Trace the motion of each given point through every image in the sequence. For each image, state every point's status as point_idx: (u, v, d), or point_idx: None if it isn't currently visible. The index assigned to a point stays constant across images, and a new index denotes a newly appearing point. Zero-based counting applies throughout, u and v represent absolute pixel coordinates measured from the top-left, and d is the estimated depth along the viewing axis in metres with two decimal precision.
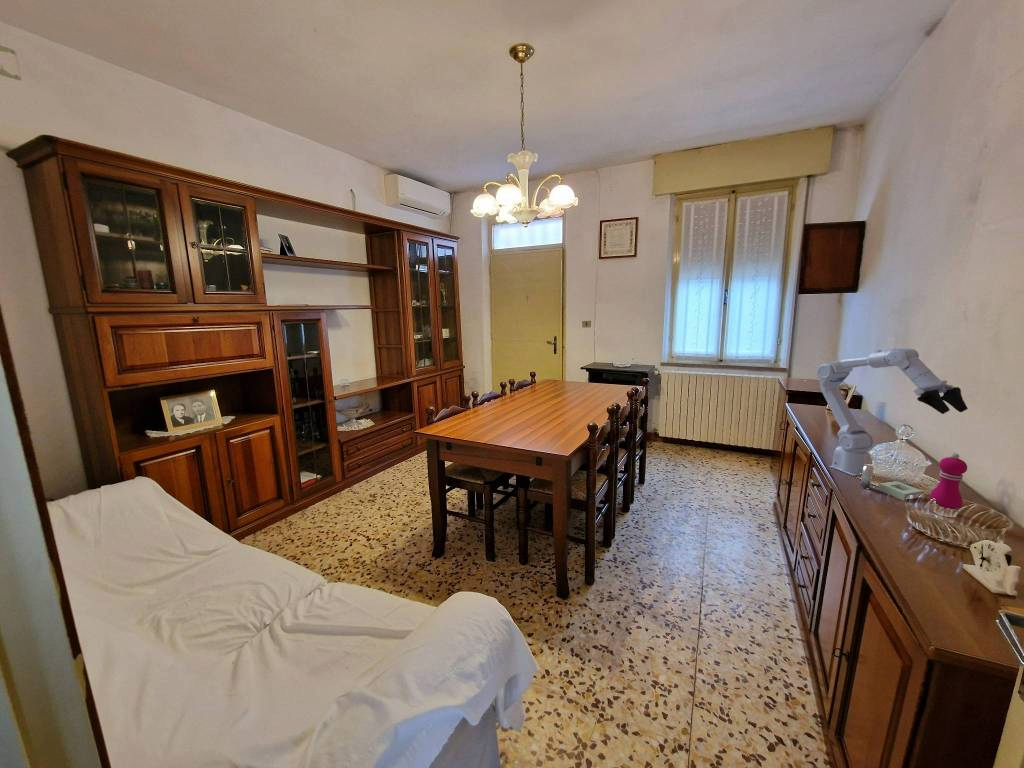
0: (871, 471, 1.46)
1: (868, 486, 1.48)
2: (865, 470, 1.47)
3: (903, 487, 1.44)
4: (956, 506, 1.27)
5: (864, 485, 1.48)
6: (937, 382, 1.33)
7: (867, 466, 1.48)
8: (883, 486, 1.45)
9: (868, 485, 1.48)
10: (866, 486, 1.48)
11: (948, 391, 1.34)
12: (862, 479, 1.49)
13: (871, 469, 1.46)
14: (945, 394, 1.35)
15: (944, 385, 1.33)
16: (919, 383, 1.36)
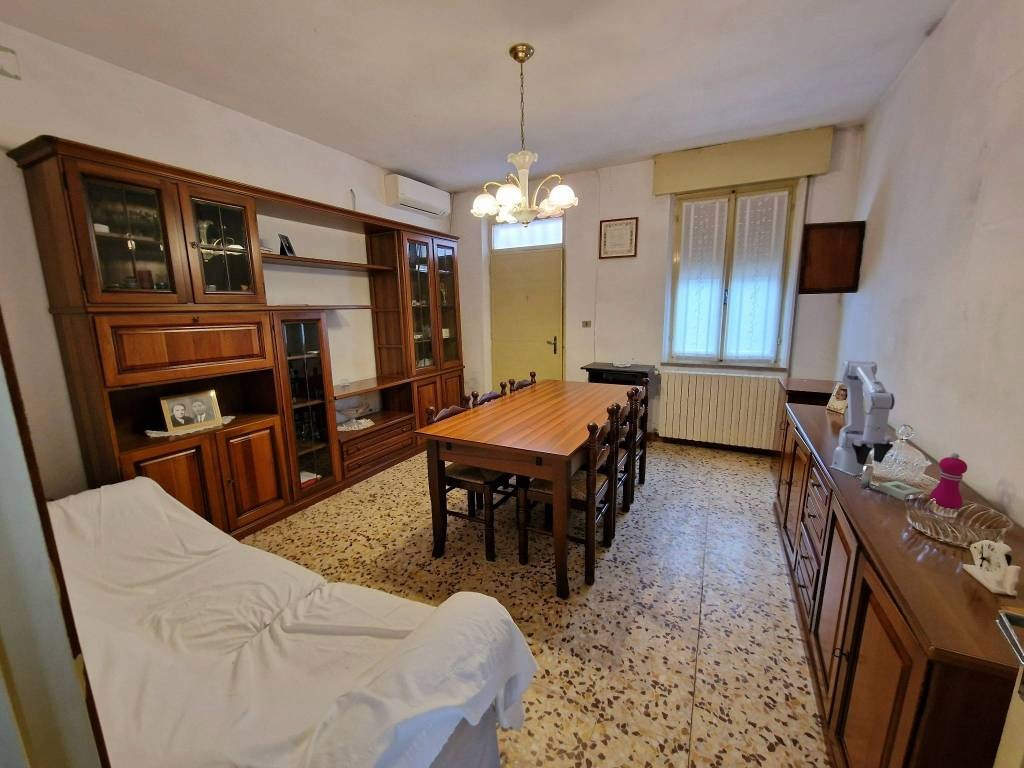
0: (871, 471, 1.46)
1: (868, 486, 1.48)
2: (865, 470, 1.47)
3: (903, 487, 1.44)
4: (956, 506, 1.27)
5: (864, 485, 1.48)
6: (879, 440, 1.42)
7: (867, 466, 1.48)
8: (883, 486, 1.45)
9: (868, 485, 1.48)
10: (866, 486, 1.48)
11: (882, 443, 1.46)
12: (862, 479, 1.49)
13: (871, 469, 1.46)
14: (878, 443, 1.47)
15: None
16: (867, 432, 1.45)
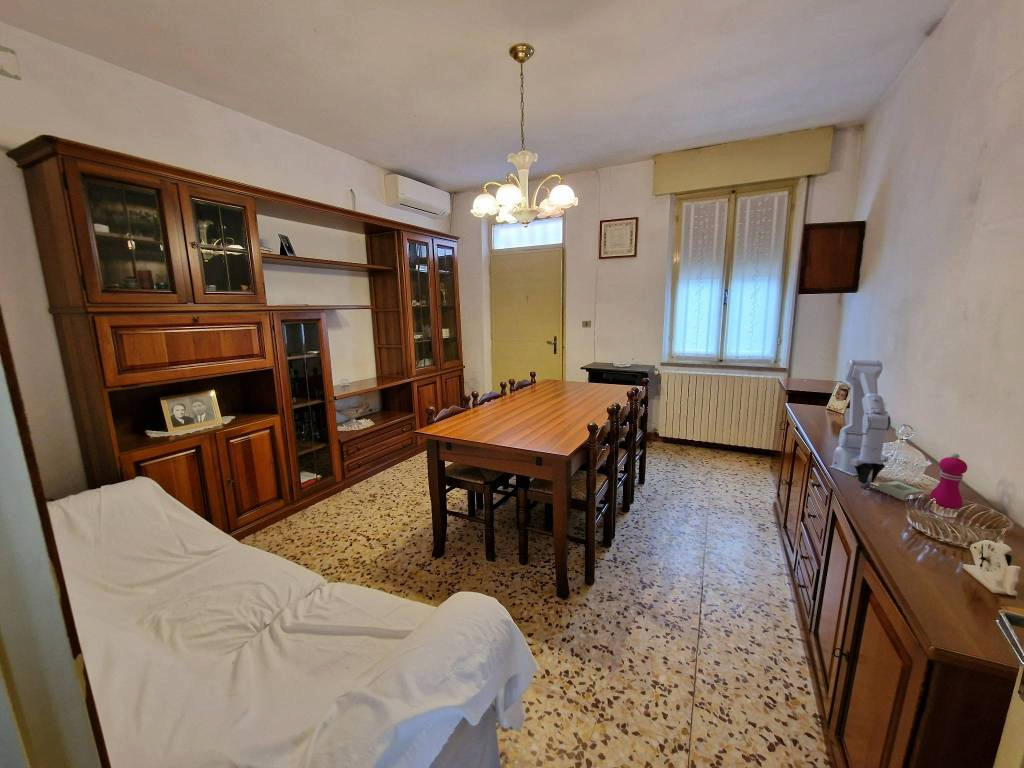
0: (871, 471, 1.46)
1: (868, 486, 1.48)
2: None
3: (903, 487, 1.44)
4: (956, 506, 1.27)
5: (864, 485, 1.48)
6: (875, 460, 1.44)
7: None
8: (883, 486, 1.45)
9: (868, 485, 1.48)
10: (866, 486, 1.48)
11: (874, 464, 1.47)
12: None
13: None
14: (870, 463, 1.48)
15: None
16: (863, 452, 1.46)
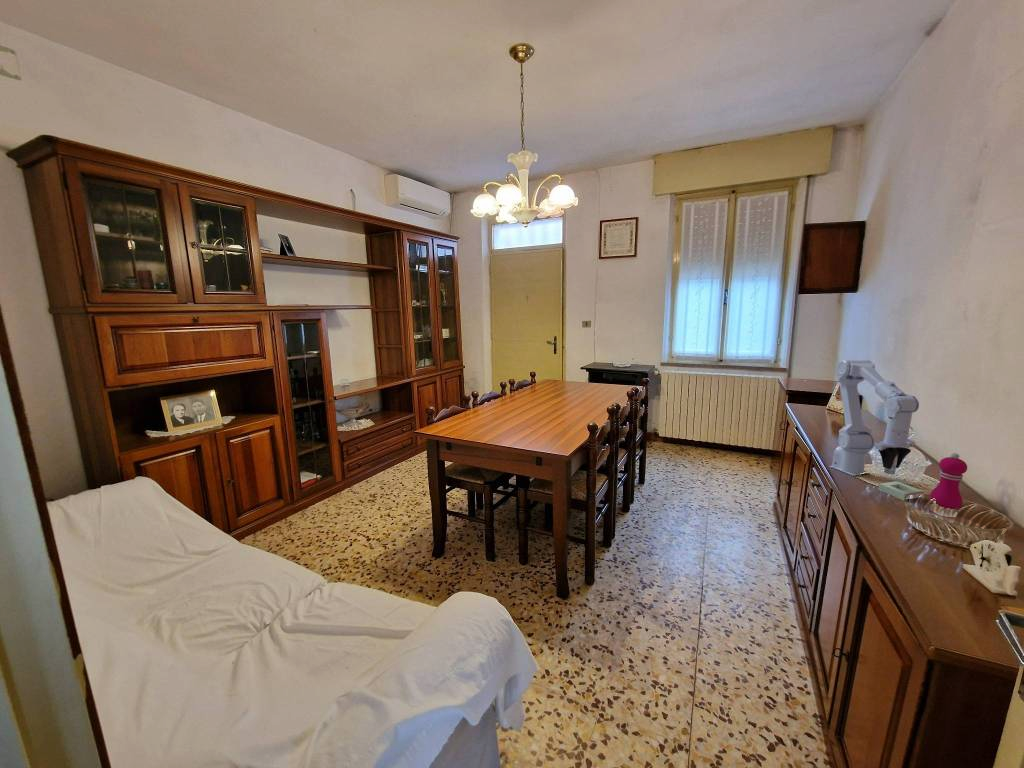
0: (896, 456, 1.42)
1: (893, 471, 1.43)
2: None
3: (903, 487, 1.44)
4: (956, 506, 1.27)
5: (889, 470, 1.43)
6: (901, 444, 1.39)
7: None
8: (883, 486, 1.45)
9: (893, 470, 1.43)
10: (891, 471, 1.43)
11: (899, 448, 1.42)
12: None
13: None
14: (895, 448, 1.43)
15: None
16: (888, 436, 1.41)
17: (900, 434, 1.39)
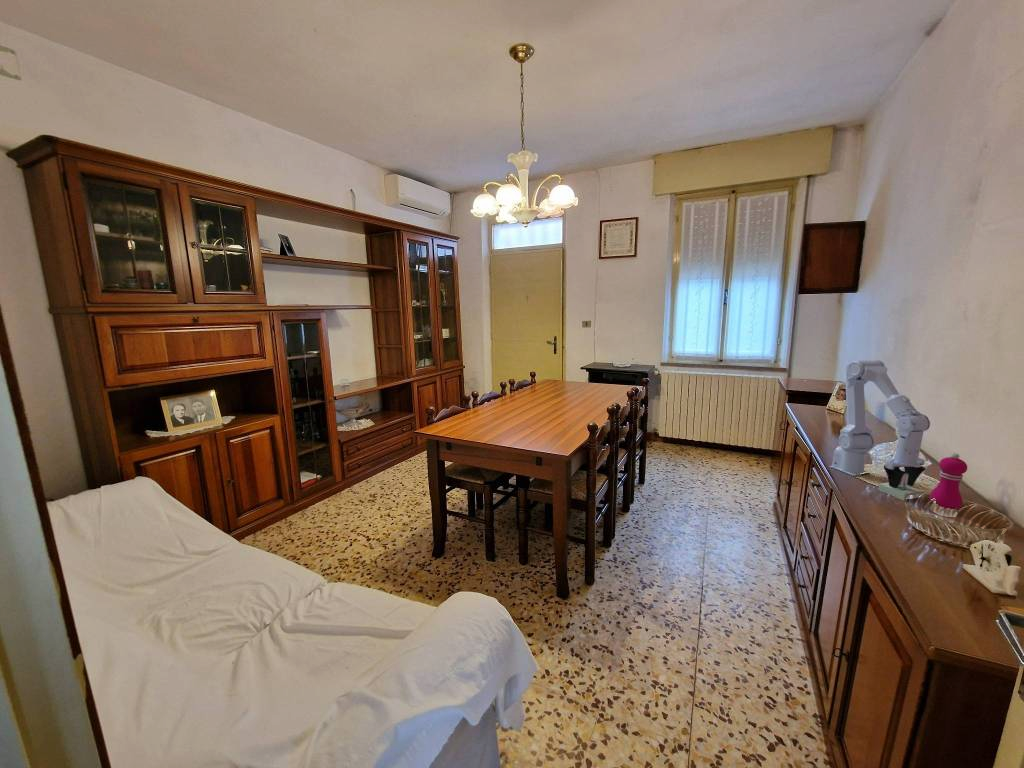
0: (906, 477, 1.41)
1: None
2: None
3: None
4: (956, 506, 1.27)
5: None
6: (912, 463, 1.38)
7: None
8: (883, 486, 1.45)
9: None
10: None
11: (914, 466, 1.42)
12: None
13: (907, 475, 1.41)
14: None
15: None
16: (899, 454, 1.41)
17: (911, 453, 1.38)
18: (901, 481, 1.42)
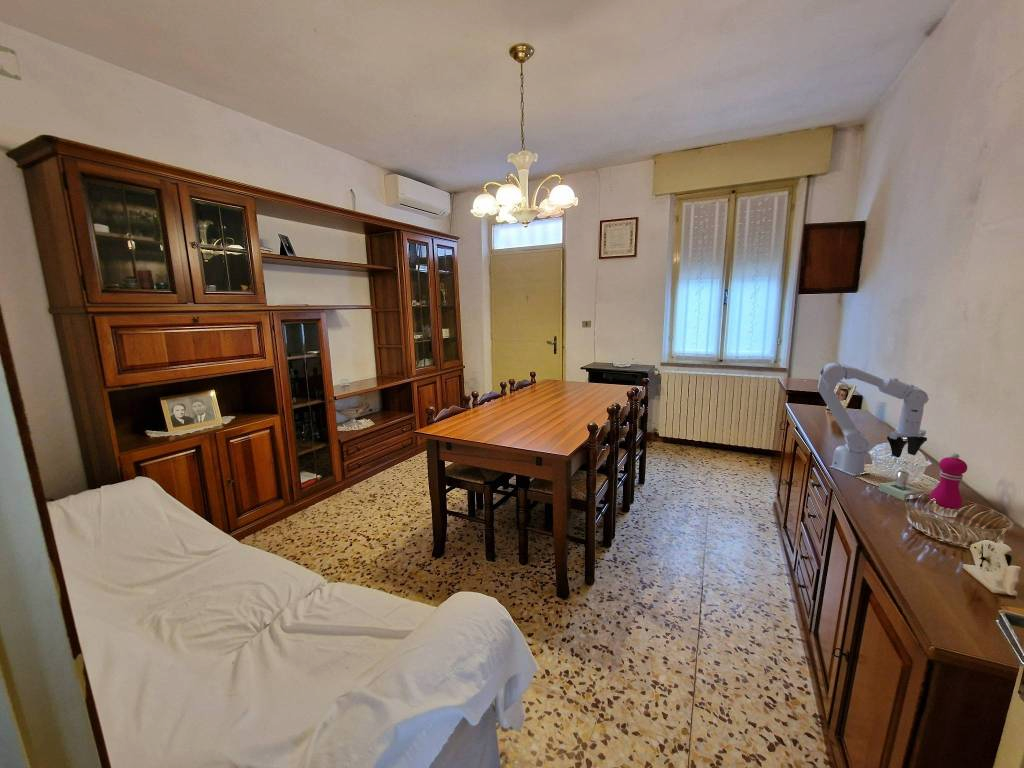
0: (906, 477, 1.41)
1: None
2: (900, 476, 1.42)
3: None
4: (956, 506, 1.27)
5: None
6: (914, 433, 1.49)
7: (901, 471, 1.43)
8: (883, 486, 1.45)
9: None
10: None
11: (916, 437, 1.52)
12: (897, 486, 1.43)
13: (907, 475, 1.41)
14: (912, 436, 1.53)
15: None
16: (902, 425, 1.51)
17: (913, 424, 1.48)
18: (901, 481, 1.42)
